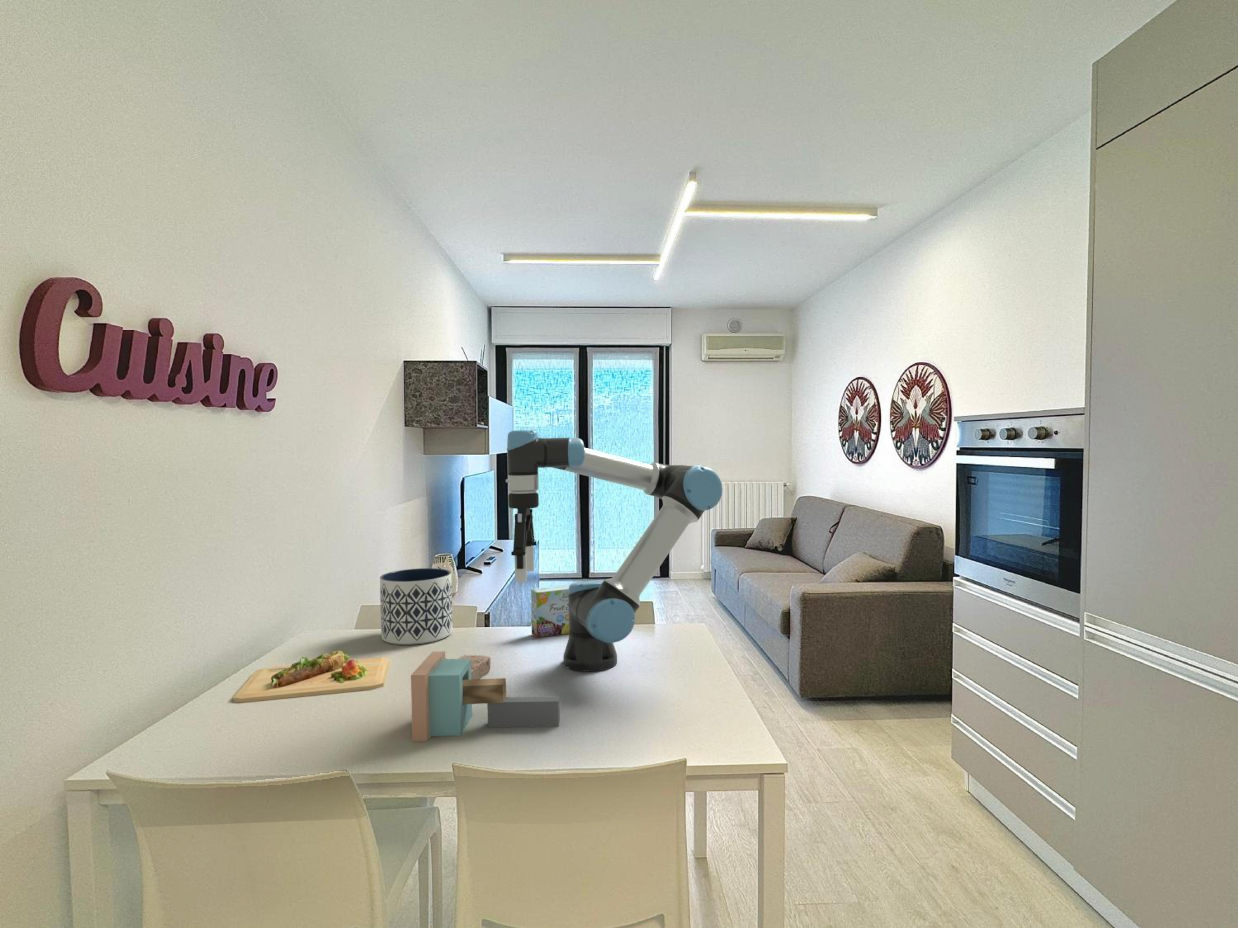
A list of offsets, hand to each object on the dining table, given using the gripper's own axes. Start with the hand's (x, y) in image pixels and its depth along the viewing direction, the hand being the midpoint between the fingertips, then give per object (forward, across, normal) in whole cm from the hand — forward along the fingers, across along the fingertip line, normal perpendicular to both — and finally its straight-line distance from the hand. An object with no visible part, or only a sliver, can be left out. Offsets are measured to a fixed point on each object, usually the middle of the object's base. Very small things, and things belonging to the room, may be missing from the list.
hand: (525, 576), depth 169 cm
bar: (+23, +21, -8) cm, 32 cm away
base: (+29, +21, -18) cm, 40 cm away
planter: (+29, -50, -43) cm, 72 cm away
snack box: (+29, -52, +5) cm, 60 cm away
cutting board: (+30, -9, -57) cm, 65 cm away
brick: (+29, -7, -18) cm, 35 cm away
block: (+29, +21, -14) cm, 38 cm away
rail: (+29, +21, +2) cm, 36 cm away
